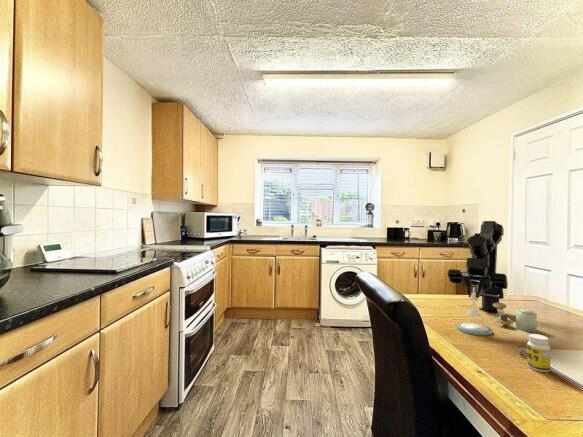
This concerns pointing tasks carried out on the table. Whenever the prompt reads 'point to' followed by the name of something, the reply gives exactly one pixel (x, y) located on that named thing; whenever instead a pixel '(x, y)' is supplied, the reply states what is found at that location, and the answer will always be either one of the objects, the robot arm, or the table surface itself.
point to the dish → (474, 329)
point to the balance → (501, 313)
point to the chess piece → (474, 306)
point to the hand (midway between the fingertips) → (473, 297)
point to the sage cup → (526, 320)
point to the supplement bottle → (538, 353)
